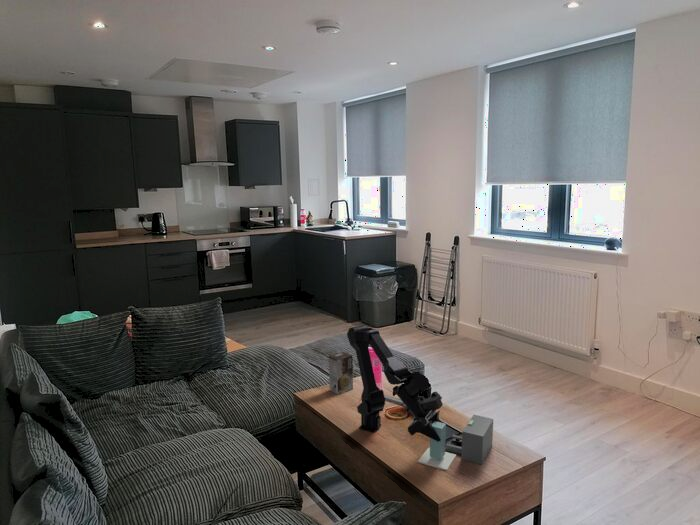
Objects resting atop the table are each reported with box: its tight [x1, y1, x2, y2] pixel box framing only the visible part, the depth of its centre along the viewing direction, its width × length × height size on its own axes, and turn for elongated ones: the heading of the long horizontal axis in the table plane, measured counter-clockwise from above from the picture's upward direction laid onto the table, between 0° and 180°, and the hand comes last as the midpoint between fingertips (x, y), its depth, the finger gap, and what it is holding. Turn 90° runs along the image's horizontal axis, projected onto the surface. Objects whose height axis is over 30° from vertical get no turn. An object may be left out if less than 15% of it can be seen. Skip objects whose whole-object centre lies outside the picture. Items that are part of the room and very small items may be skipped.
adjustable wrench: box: [384, 394, 405, 406], centre depth 212 cm, size 25×6×2 cm, turn 50°
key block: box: [429, 421, 447, 460], centre depth 166 cm, size 4×4×11 cm
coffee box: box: [328, 351, 354, 395], centre depth 223 cm, size 9×6×16 cm
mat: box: [417, 446, 457, 471], centre depth 167 cm, size 10×10×1 cm
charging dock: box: [445, 414, 494, 466], centre depth 172 cm, size 14×14×10 cm
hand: (441, 438), depth 165 cm, fingers closed on key block, 4 cm apart
